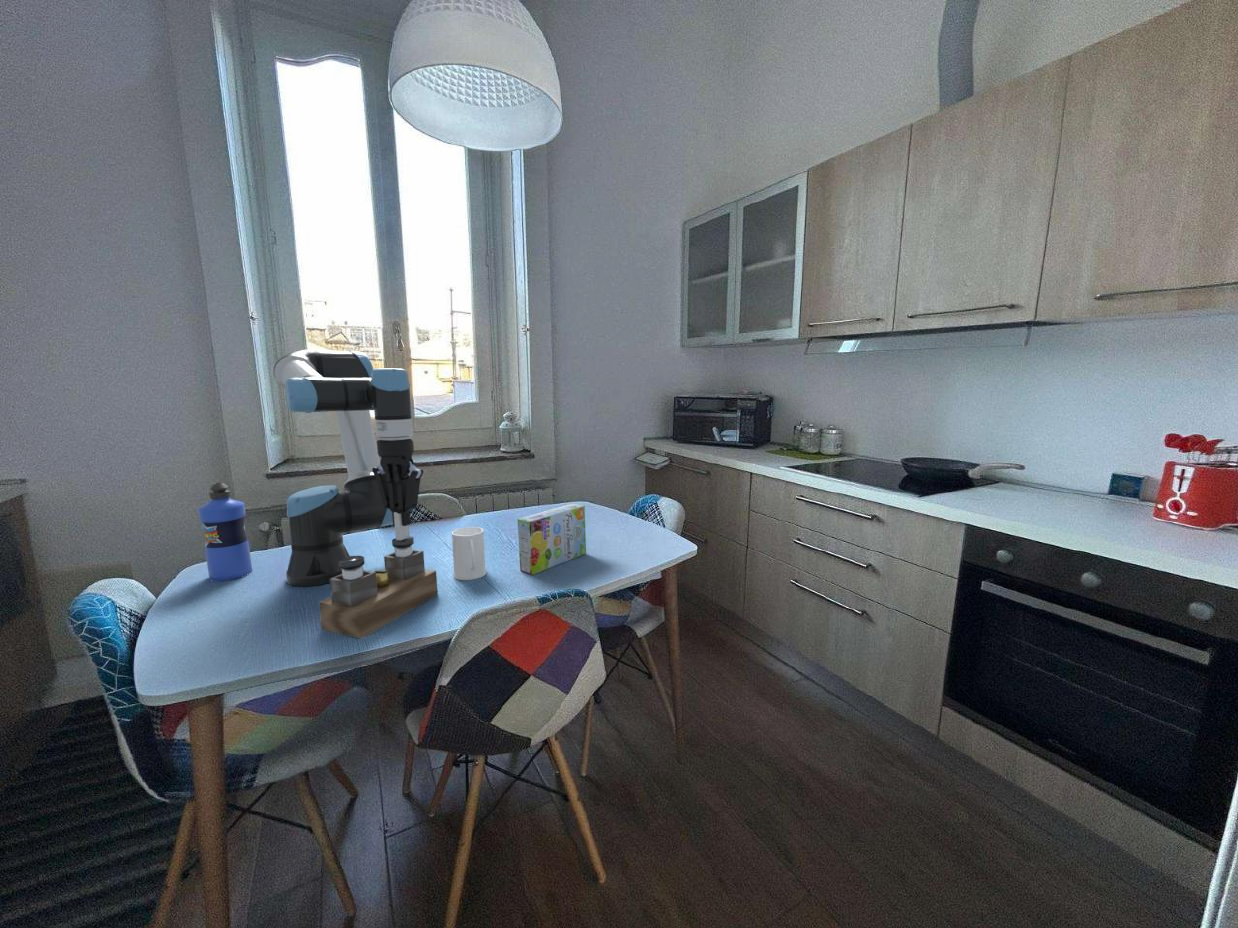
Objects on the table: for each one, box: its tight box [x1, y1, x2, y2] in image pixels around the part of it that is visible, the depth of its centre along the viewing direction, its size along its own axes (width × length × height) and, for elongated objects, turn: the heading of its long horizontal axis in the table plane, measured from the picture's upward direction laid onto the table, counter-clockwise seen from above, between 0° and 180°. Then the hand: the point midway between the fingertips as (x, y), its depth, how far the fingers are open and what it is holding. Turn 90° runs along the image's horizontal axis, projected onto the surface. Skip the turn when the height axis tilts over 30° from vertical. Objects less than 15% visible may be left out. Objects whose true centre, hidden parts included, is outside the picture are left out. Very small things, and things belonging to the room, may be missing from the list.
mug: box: [451, 526, 487, 581], centre depth 127 cm, size 12×8×12 cm
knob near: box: [339, 555, 365, 582], centre depth 101 cm, size 5×5×8 cm
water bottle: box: [198, 482, 253, 582], centre depth 127 cm, size 9×9×25 cm
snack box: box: [517, 503, 587, 576], centre depth 137 cm, size 21×6×15 cm, turn 141°
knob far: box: [391, 535, 415, 558], centre depth 113 cm, size 5×5×8 cm
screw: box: [374, 569, 389, 588], centre depth 108 cm, size 3×3×3 cm
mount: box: [318, 549, 439, 640], centre depth 108 cm, size 11×22×11 cm, turn 160°
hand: (402, 538), depth 113 cm, fingers closed
